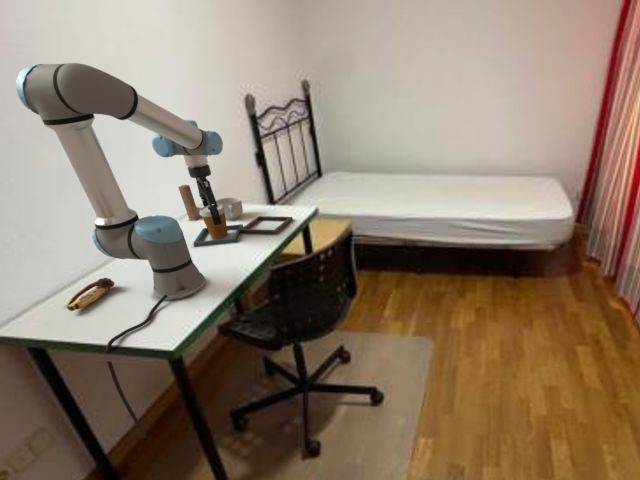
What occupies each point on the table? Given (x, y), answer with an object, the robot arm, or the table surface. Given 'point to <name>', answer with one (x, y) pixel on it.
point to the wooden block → (189, 202)
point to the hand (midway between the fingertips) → (214, 220)
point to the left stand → (220, 241)
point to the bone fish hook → (90, 294)
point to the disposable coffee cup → (214, 230)
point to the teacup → (231, 207)
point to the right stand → (267, 218)
